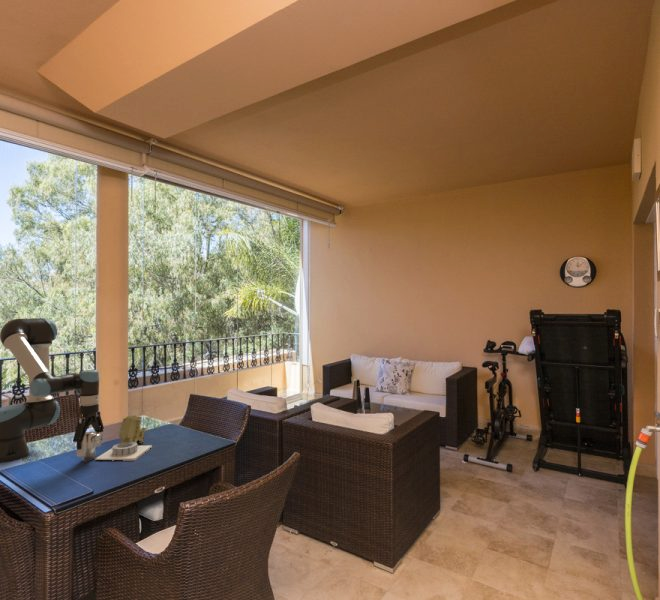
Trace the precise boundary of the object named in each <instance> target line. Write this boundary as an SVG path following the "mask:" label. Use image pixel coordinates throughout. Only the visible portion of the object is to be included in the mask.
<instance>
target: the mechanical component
mask: <svg viewBox="0 0 660 600" xmlns="http://www.w3.org/2000/svg"><path fill="white" fill-rule="evenodd" d="M141 423H142V416H137V415H130V416H129V415H128V416H125V417H124V418H122V423H121V427H120V430H119V434H118V435H119V439H120V440H119V442H120V443H124V442H136V443H138V444H143V443H144V438H145V432H147V431H146V430H147V427H141ZM137 441H139V442H137ZM142 442H143V443H142Z"/></svg>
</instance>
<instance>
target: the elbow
mask: <svg viewBox="0 0 660 600" xmlns="http://www.w3.org/2000/svg"><path fill="white" fill-rule="evenodd" d="M83 441H84V456H82V462H90V461H89V460H92V459H94V460H95V458H96V447H95V443H100V442H101V443H102V441H103V434H102V433H101V434H95V430H94V431H91V430H90V431H86V433H85V436H84V438H83ZM92 461H93V460H92Z"/></svg>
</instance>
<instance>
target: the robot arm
mask: <svg viewBox="0 0 660 600" xmlns="http://www.w3.org/2000/svg"><path fill="white" fill-rule="evenodd" d="M57 336H58V327H57V325H56V323H55V321H54V320H52V319H51V318H46V317H45V318H43V317H39V318H38V317H37V318H36V317H35V318H14V319H11V320H9V321H8V322H6V323H4V325H3V326H2V327H1V330H0V343H1V344H2V346H3V347H4V349H7V350H9V352H11V354H12V355H13V356H14V358H15V360H16V361H17V363H18V364H19V365H20V367H21V368H22V369H23V371H24V373H25V374H26V376H27V378H28V392H29V393H28V395H29V397H28V398H27V400H26V401H25V404H24V403H16V404H15V403H14V404H10V405H9V404H8V405H6V406H3V407H0V463H4V462H5V463H6V462H11V461H15V460H19V459H22V458H25V457H26V456H29V453H30V449H29V447H28V444H27V441H26V438H25V431H28V430H33V429H37V428H41V427H47V426H50V425H52V424H54V423H56V422H57V420H58V419H59V417H60V414H61V407H60V403H59V402H58V401H57V400H55V397H54V396H53V395H54V394H61V393H66V392H71V391H79V405H80V406H79V414H80V415H82V418H79V417H78V418H77V424H76V428H75V431H74V436H73V439H72V442H73V443H76V457H80V458H81V457H83V456H84V441H83V438H84V436H85V433H86V432H88V428H90V426H92V429H93V430H94V432H95V434H101V435H102V433H103V432H104V423H103V420H102V417H101V412H100V411H99V410H100V409H99V407H100V406H99V405H100V404H99V400H100V395H99V394H100V393H99V391H100V390H99V389H100V375H99V374H100V373H99V371H98V370H97V369H87V370H82V371H80V373H75V372H71V373H66V374H65V375H56V376H53V375H52V373H51V371H50V349H49V348H50V347H51V346H52V345H53V341H54V340H56V339H57ZM101 444H102V441H101V442H100V443H95V448H99V447H101V446H102V445H101Z"/></svg>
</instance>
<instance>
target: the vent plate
mask: <svg viewBox="0 0 660 600" xmlns="http://www.w3.org/2000/svg"><path fill="white" fill-rule="evenodd" d="M150 448H151V449H152V448H153V445H138V442H124V443H121V442H120V443H117V444H114V445H113V446H112V448H110V449H109V450H106V451H105V452H104V453H102V454H100V455H99V456H97V457H95V459H94V461H95V460H112V462H115V461H114V460H123V462H125V461H128V462H130V461H131V462H134V461H137V459H139V458H141V457H142V456H143V455H145V454H146V453H147V452H148V451H150V450H151V449H150ZM145 452H146V453H145Z"/></svg>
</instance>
